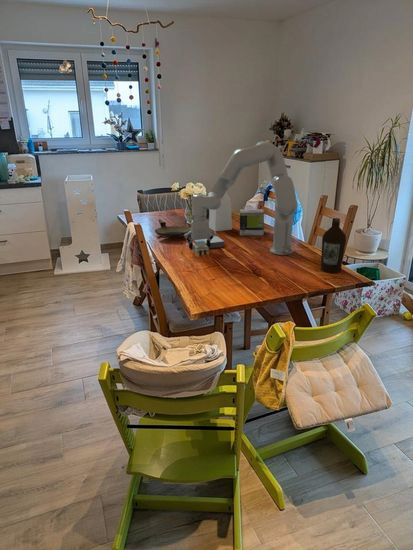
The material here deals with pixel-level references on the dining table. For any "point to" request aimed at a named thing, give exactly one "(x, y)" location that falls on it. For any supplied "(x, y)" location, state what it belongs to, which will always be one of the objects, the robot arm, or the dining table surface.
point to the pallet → (200, 249)
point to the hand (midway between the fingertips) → (199, 248)
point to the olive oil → (333, 248)
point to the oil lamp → (171, 230)
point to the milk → (221, 215)
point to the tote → (199, 243)
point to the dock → (215, 241)
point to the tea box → (251, 222)
